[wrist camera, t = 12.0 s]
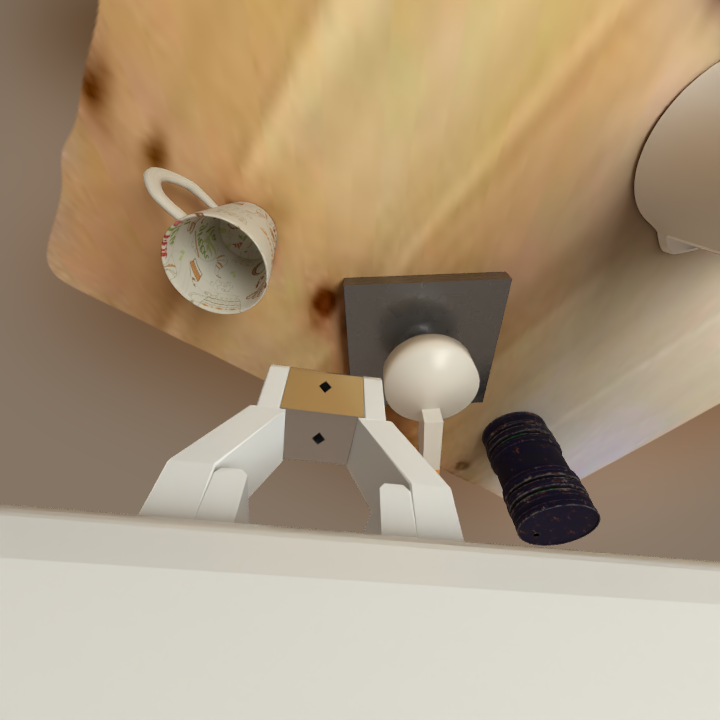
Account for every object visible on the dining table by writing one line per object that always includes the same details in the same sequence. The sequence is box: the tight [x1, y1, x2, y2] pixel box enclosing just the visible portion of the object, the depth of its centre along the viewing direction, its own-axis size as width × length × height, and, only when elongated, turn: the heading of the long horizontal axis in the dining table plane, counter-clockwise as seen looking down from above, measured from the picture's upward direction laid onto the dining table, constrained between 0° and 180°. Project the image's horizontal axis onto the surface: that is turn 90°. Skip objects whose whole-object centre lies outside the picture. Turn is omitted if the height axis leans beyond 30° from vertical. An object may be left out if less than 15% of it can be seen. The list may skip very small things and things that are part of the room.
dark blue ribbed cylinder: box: [482, 412, 600, 546], centre depth 48 cm, size 10×10×15 cm
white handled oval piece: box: [383, 334, 480, 476], centre depth 39 cm, size 18×10×5 cm, turn 5°
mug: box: [143, 167, 277, 314], centre depth 30 cm, size 8×13×10 cm, turn 43°
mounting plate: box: [344, 272, 512, 405], centre depth 41 cm, size 18×18×6 cm
